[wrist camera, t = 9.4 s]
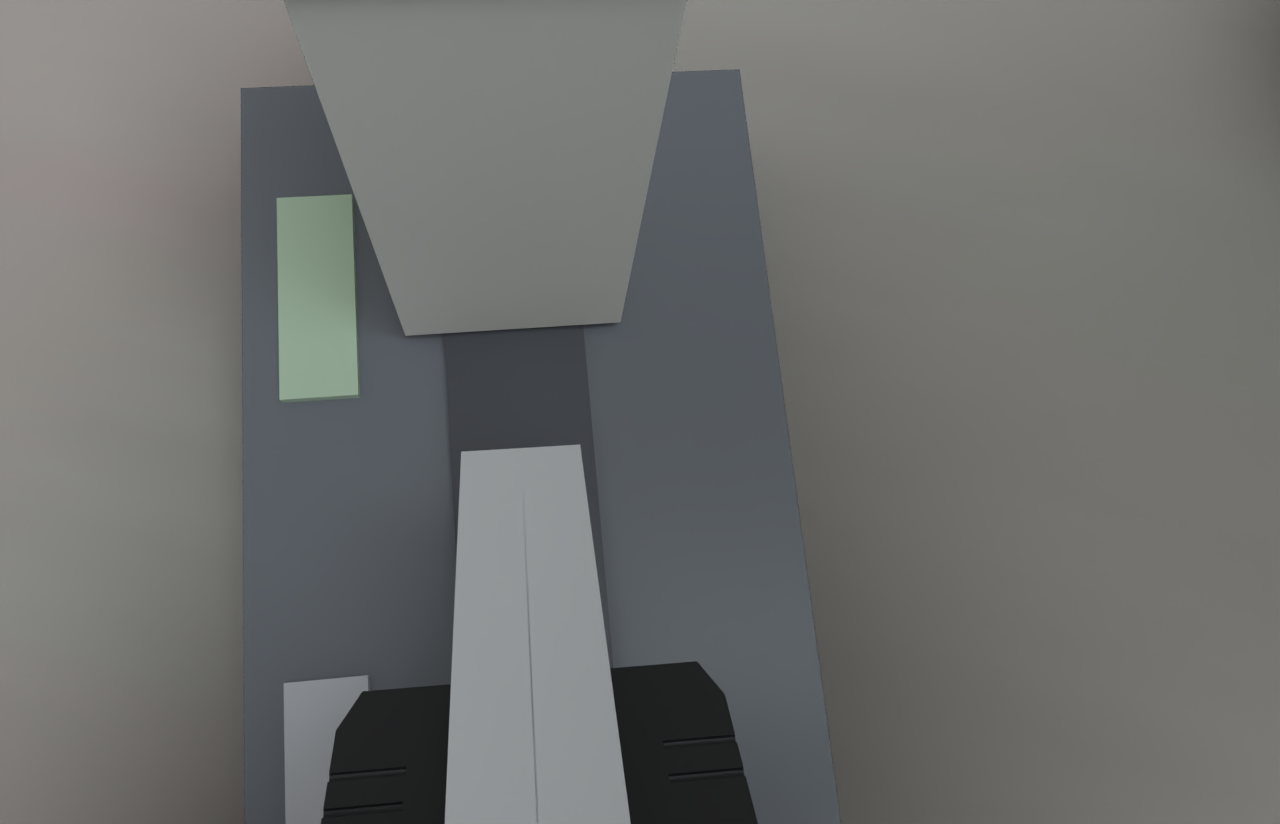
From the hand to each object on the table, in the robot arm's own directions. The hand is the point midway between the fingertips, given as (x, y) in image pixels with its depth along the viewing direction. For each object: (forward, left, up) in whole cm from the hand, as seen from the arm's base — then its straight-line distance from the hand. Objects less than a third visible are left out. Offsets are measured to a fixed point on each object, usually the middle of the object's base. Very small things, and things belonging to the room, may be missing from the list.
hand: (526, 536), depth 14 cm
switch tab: (-6, -3, -5) cm, 8 cm away
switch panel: (-1, -1, -8) cm, 9 cm away
